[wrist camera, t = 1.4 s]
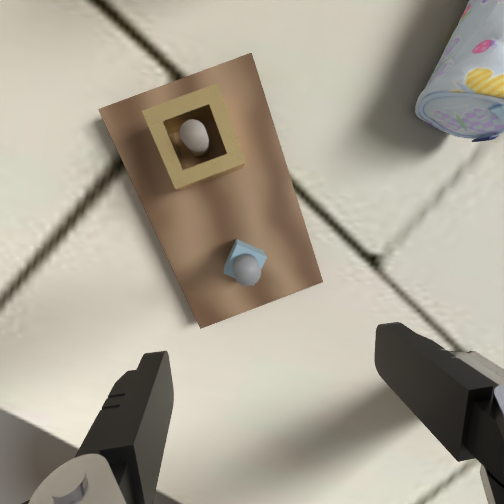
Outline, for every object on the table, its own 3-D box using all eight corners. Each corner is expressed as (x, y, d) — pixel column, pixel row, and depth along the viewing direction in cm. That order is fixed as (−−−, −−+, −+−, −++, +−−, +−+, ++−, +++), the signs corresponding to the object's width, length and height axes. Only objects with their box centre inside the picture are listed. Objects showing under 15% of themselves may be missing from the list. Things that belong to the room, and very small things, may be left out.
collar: (219, 100, 24) (217, 82, 20) (242, 167, 26) (245, 162, 22) (155, 124, 24) (141, 110, 20) (183, 190, 26) (175, 189, 22)
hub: (236, 238, 27) (238, 249, 22) (263, 250, 28) (271, 263, 22) (224, 265, 28) (223, 282, 22) (250, 276, 28) (256, 295, 23)
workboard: (249, 63, 25) (258, 10, 18) (317, 276, 31) (344, 301, 24) (108, 115, 25) (59, 84, 18) (202, 320, 31) (194, 359, 24)
